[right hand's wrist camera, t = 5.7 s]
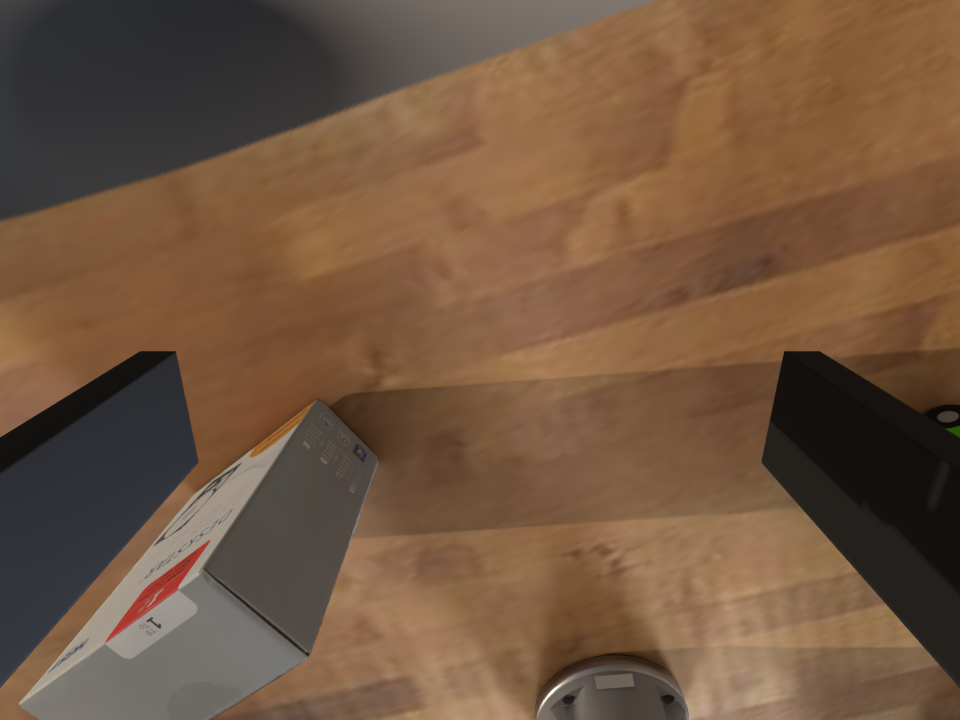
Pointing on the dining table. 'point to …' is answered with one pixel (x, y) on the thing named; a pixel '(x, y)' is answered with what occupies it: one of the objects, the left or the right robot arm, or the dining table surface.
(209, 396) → the dining table surface
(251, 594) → the hard drive box
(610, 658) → the right robot arm
